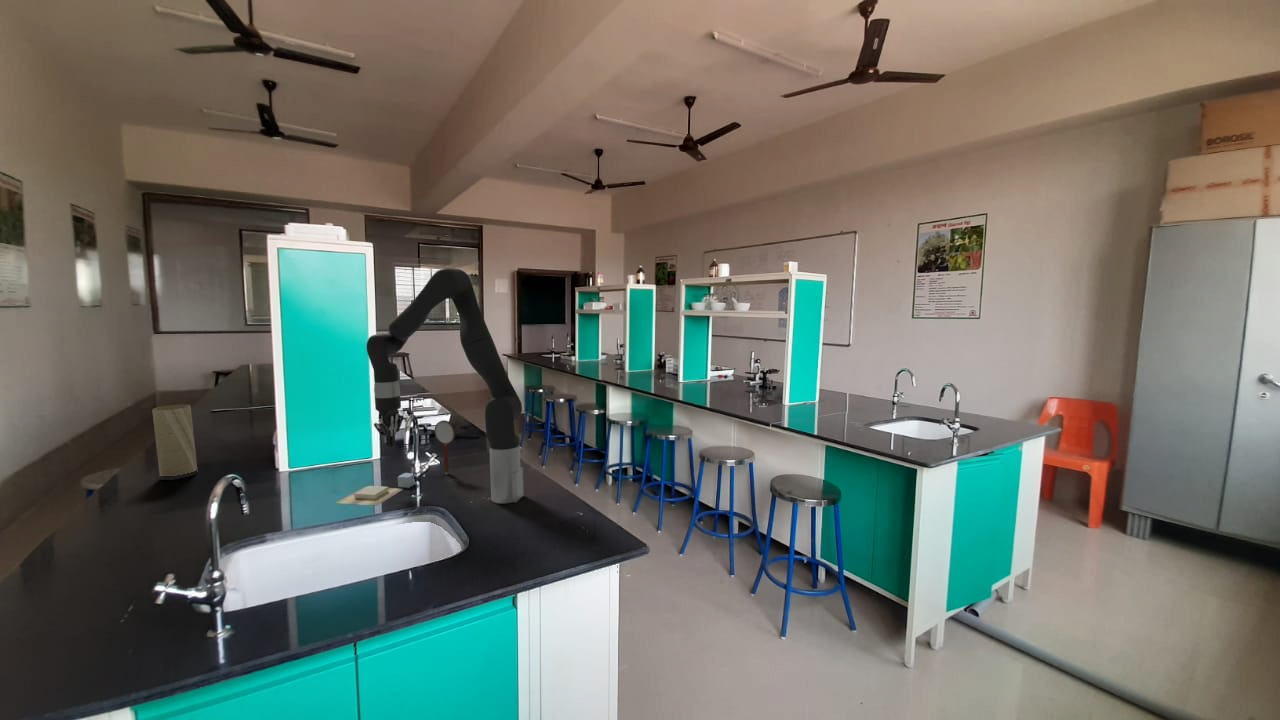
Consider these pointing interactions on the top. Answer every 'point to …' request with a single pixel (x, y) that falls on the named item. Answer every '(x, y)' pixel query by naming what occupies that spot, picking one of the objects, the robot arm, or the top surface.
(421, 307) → the robot arm
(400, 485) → the block
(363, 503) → the cork mat
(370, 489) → the tile
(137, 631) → the top surface
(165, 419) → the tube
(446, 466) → the magnifying glass
